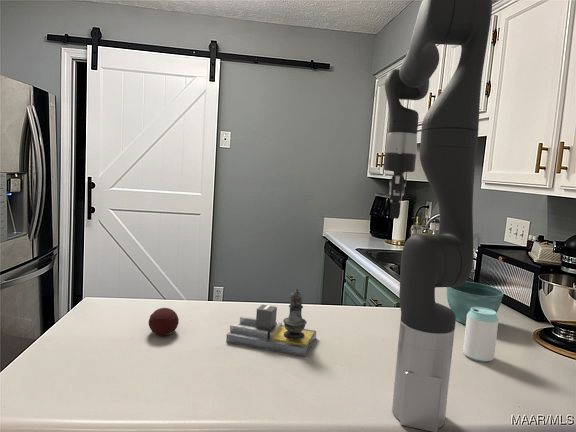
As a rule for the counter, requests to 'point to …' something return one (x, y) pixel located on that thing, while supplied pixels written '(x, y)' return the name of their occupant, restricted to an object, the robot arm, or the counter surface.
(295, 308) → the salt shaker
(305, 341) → the board
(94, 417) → the counter surface
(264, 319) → the block
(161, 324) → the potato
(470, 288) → the teal bowl
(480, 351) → the can
